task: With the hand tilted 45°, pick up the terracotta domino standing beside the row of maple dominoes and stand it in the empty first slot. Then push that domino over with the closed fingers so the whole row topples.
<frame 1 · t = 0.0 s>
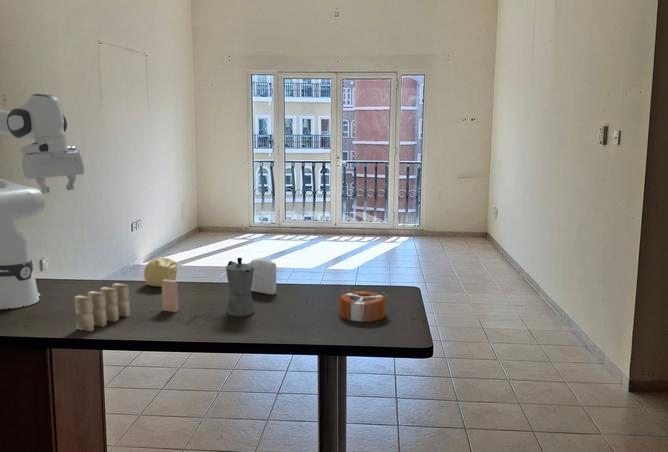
hand: (58, 191, 180), 39 cm above the breakfast bar, tool pointing down, fingers open, 8 cm apart
domino 5: (85, 329, 169), on the breakfast bar
domino 4: (98, 324, 173), on the breakfast bar
domino 3: (110, 319, 178), on the breakfast bar
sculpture: (161, 285, 218), on the breakfast bar
domino 2: (122, 315, 183), on the breakfast bar
coffeepot: (239, 311, 187), on the breakfast bar
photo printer: (263, 292, 210), on the breakfast bar
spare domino: (170, 310, 188), on the breakfast bar
coil: (362, 316, 184), on the breakfast bar
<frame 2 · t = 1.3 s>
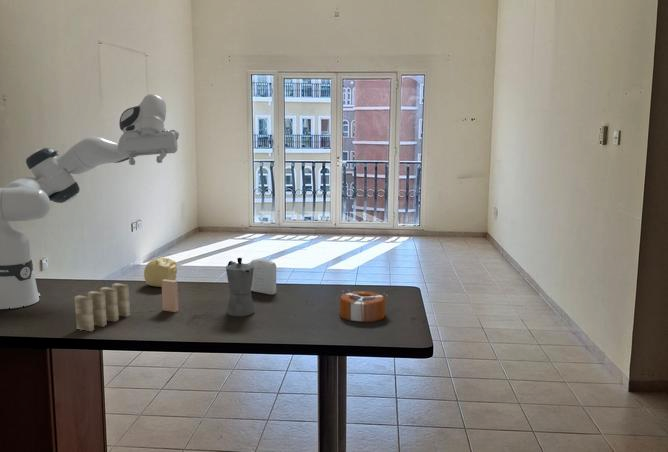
hand: (145, 162, 197), 47 cm above the breakfast bar, tool tilted 40°, fingers open, 8 cm apart
nothing on the breakfast bar moved.
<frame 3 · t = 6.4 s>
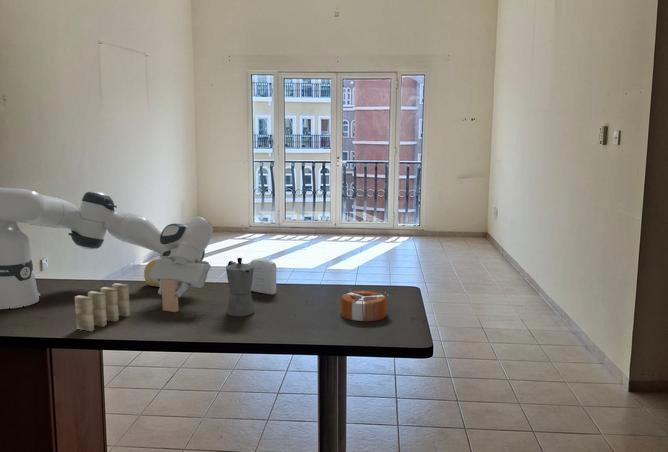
hand: (168, 294, 186), 5 cm above the breakfast bar, tool tilted 45°, fingers closed on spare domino, 5 cm apart
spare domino: (170, 310, 188), on the breakfast bar, touching gripper
everything else where it was.
when the fingers open (6 cm above the breakfast bar, at t = 12.5 s): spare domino stays where it is, on the breakfast bar.
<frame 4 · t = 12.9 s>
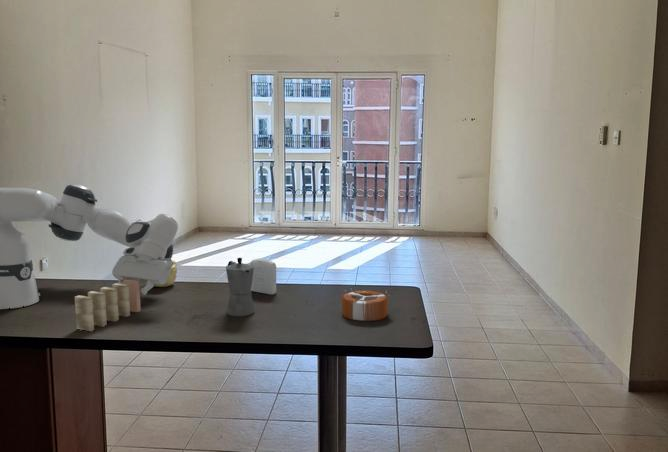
hand: (130, 292, 186), 6 cm above the breakfast bar, tool tilted 45°, fingers open, 8 cm apart
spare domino: (132, 310, 187), on the breakfast bar
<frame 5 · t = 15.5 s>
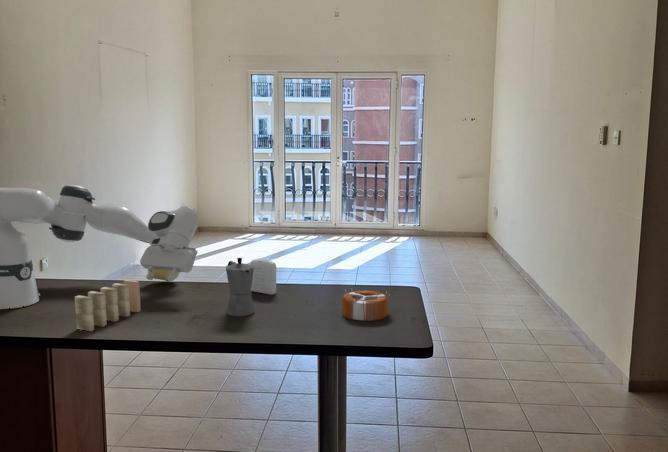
hand: (158, 280, 197), 7 cm above the breakfast bar, tool tilted 45°, fingers open, 7 cm apart
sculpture: (163, 280, 218), point 2 cm above the breakfast bar, touching arm
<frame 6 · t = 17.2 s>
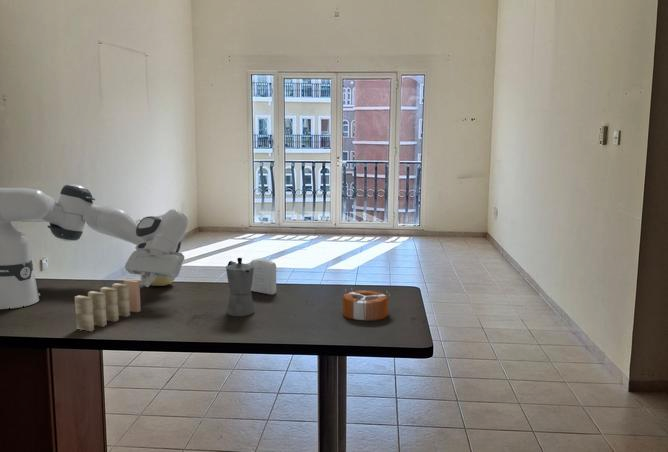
hand: (143, 285, 191), 7 cm above the breakfast bar, tool tilted 45°, fingers closed
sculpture: (162, 284, 218), on the breakfast bar, touching arm
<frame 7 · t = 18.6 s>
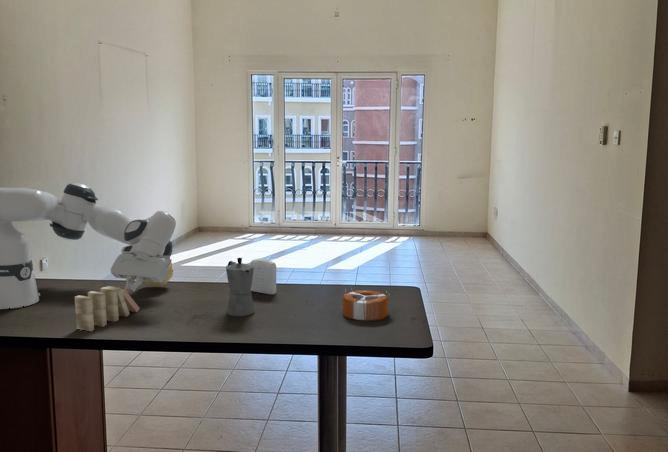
hand: (129, 290, 185), 7 cm above the breakfast bar, tool tilted 45°, fingers closed
domino 3: (110, 319, 178), on the breakfast bar, touching domino 2
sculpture: (161, 279, 217), point 2 cm above the breakfast bar, touching arm
domino 2: (121, 314, 182), on the breakfast bar, tilted 20°, touching domino 3, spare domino
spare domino: (132, 309, 187), on the breakfast bar, tilted 38°, touching domino 2
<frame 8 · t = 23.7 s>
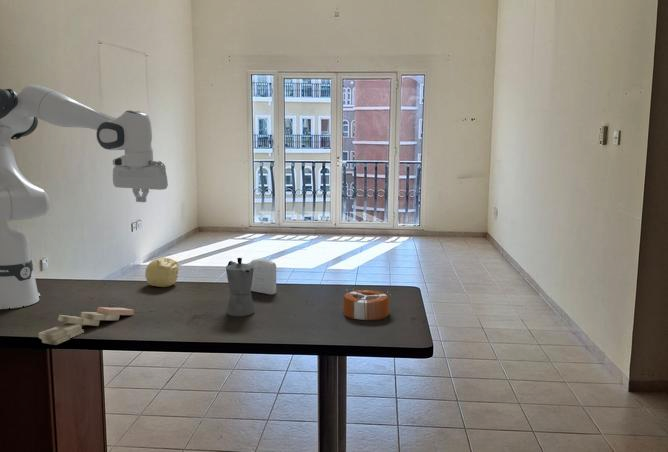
hand: (141, 202, 193), 34 cm above the breakfast bar, tool pointing down, fingers closed
domino 5: (77, 331, 167), on the breakfast bar, tilted 90°, touching domino 4
domino 4: (75, 326, 166), point 2 cm above the breakfast bar, tilted 90°, touching domino 3, domino 5
domino 3: (94, 322, 173), point 1 cm above the breakfast bar, tilted 70°, touching domino 2, domino 4
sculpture: (162, 285, 218), on the breakfast bar
domino 2: (113, 316, 179), point 1 cm above the breakfast bar, tilted 73°, touching domino 3, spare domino
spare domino: (127, 311, 184), point 1 cm above the breakfast bar, tilted 73°, touching domino 2
at the end: domino 5 tilted 90°; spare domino tilted 73°; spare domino inside the target area (1.0 cm from its centre), point 0.7 cm above the breakfast bar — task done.
